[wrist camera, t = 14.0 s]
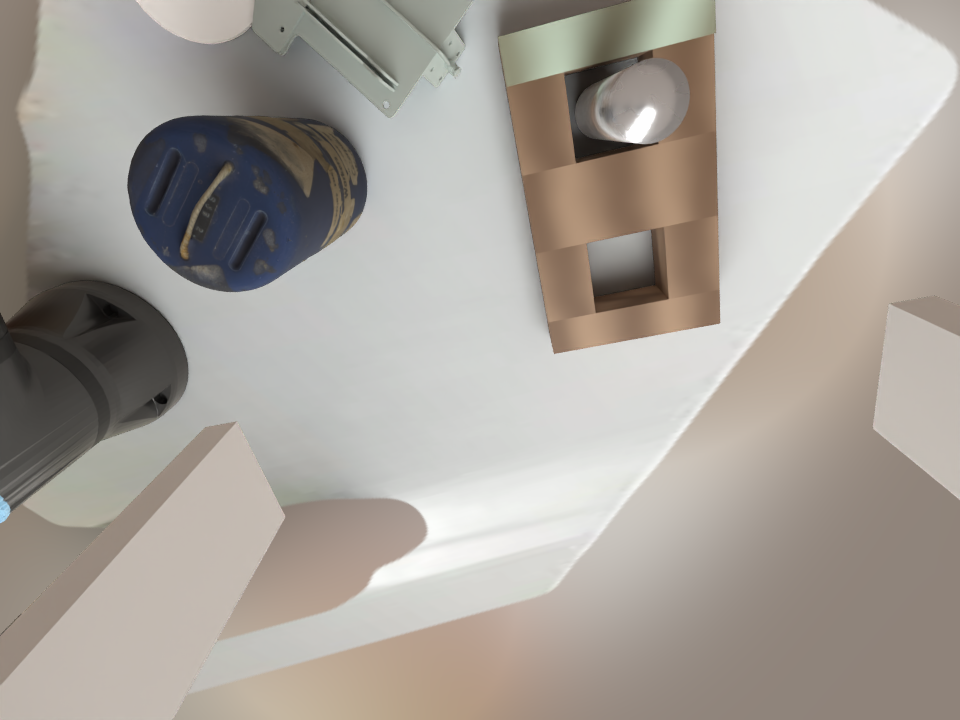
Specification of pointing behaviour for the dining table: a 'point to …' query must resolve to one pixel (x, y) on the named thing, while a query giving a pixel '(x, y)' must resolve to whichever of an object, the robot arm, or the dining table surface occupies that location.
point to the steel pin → (635, 103)
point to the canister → (243, 195)
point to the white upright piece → (202, 18)
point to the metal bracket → (371, 40)
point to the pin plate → (618, 173)
